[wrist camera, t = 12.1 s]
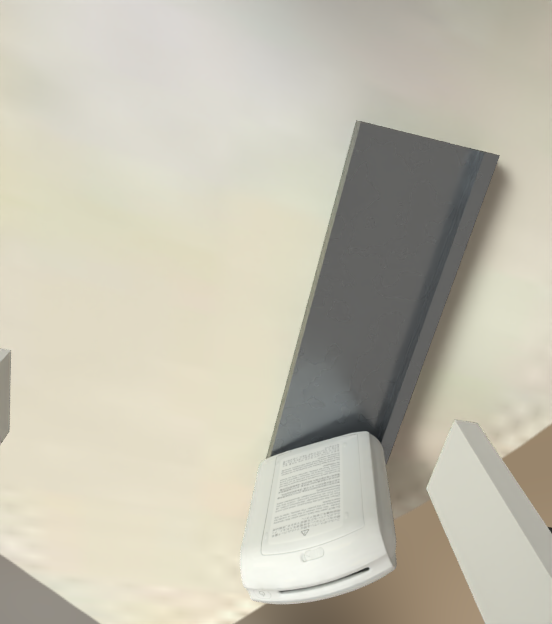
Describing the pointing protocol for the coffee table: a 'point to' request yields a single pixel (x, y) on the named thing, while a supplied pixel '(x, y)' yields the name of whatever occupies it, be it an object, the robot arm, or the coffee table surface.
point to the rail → (380, 284)
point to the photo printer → (319, 522)
